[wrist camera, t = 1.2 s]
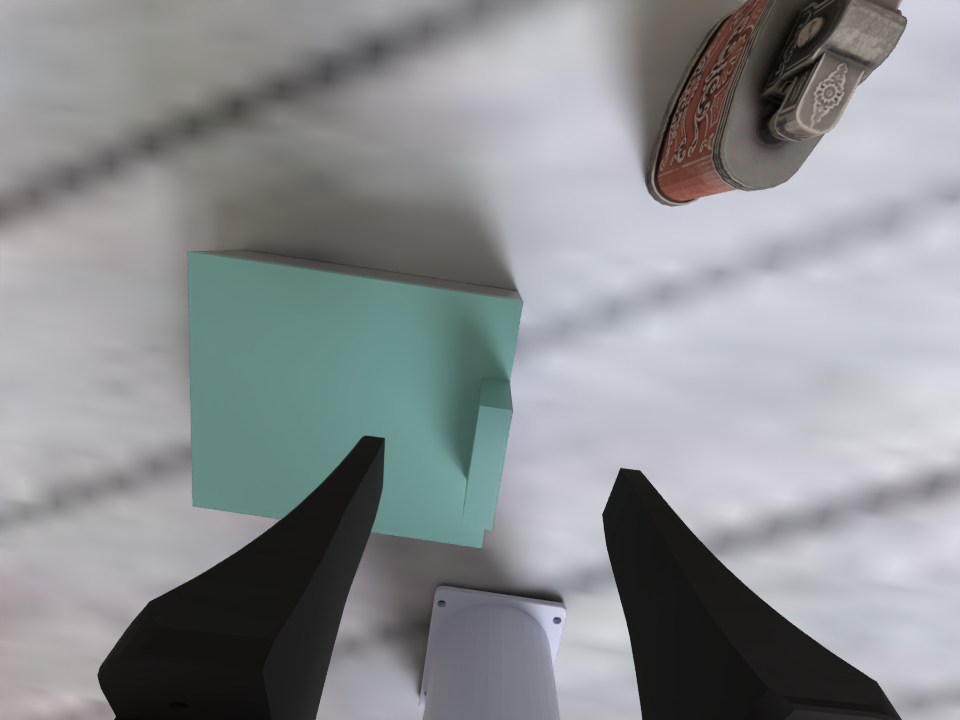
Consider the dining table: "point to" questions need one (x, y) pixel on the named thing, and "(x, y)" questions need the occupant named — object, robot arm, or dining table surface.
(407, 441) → the lid
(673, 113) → the lighter
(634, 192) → the dining table surface
